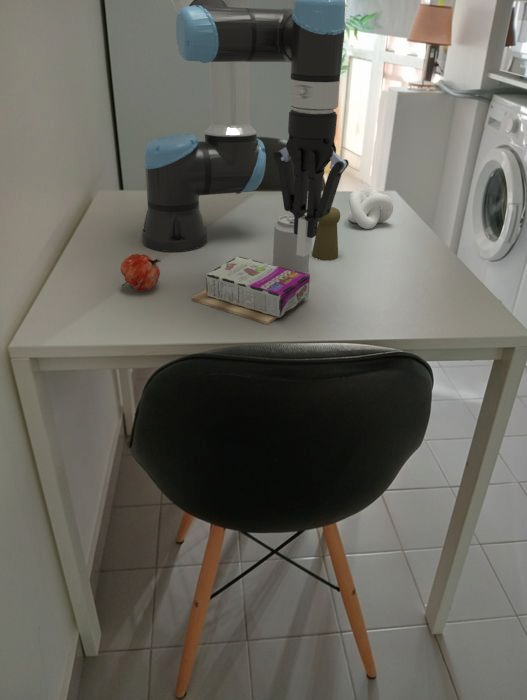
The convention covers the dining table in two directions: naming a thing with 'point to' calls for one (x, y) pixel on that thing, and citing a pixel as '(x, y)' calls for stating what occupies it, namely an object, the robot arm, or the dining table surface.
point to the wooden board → (233, 308)
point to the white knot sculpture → (369, 207)
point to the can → (287, 246)
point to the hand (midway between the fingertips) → (303, 253)
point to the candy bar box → (258, 286)
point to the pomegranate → (140, 271)
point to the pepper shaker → (327, 236)
